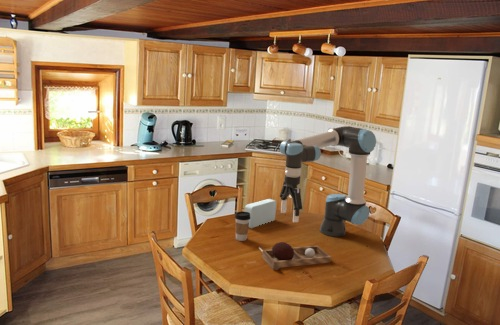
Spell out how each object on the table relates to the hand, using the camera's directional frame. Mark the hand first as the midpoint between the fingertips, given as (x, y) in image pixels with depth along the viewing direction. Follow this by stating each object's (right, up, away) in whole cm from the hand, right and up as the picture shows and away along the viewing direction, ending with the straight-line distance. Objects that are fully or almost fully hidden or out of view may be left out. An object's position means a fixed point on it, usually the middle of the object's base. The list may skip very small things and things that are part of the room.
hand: (289, 217), depth 219 cm
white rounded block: (-14, -10, +52) cm, 55 cm away
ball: (+11, -21, +6) cm, 25 cm away
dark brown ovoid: (-3, -22, +1) cm, 22 cm away
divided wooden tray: (+4, -22, +3) cm, 23 cm away
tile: (-10, -19, +12) cm, 25 cm away
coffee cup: (-24, -15, +26) cm, 39 cm away
